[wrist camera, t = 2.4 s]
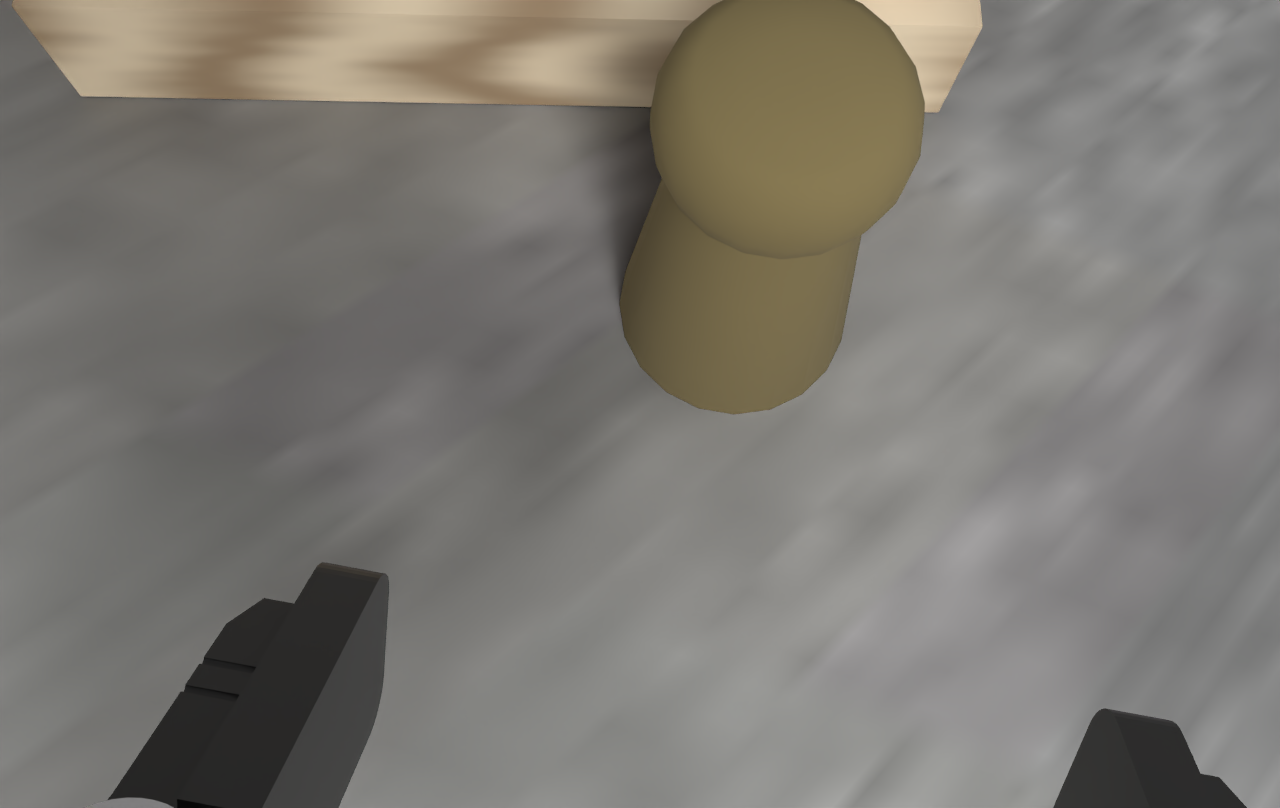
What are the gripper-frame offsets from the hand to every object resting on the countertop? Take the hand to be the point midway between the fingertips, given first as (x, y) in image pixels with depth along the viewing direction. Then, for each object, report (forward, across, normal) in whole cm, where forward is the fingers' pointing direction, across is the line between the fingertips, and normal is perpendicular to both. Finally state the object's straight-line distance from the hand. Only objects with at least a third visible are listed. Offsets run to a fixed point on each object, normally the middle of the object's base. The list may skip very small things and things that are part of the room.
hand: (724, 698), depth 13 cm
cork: (+19, 0, +3) cm, 19 cm away
